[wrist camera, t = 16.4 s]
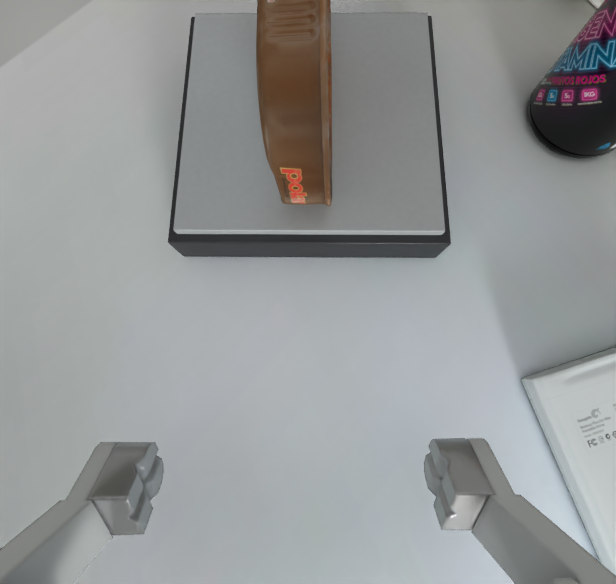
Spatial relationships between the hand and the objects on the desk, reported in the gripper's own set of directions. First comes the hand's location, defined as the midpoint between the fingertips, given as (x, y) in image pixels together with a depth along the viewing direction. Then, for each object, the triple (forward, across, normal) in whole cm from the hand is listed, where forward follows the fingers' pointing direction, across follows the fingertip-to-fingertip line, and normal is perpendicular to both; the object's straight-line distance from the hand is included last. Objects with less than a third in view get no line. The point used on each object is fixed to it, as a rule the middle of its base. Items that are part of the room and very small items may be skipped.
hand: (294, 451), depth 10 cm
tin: (+17, 0, -8) cm, 19 cm away
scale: (+19, -1, -6) cm, 20 cm away
